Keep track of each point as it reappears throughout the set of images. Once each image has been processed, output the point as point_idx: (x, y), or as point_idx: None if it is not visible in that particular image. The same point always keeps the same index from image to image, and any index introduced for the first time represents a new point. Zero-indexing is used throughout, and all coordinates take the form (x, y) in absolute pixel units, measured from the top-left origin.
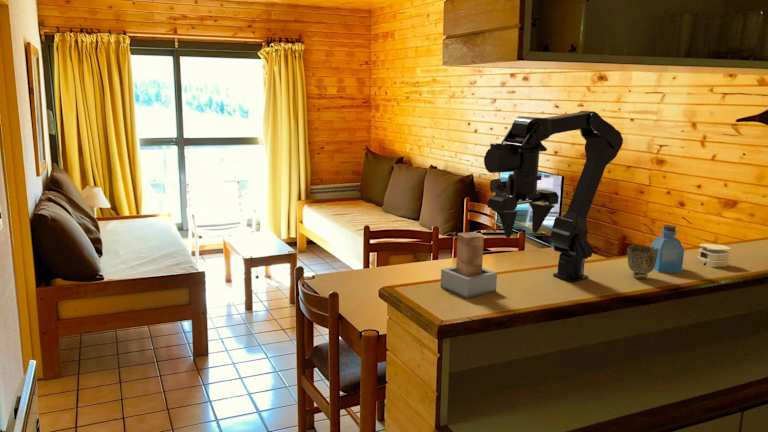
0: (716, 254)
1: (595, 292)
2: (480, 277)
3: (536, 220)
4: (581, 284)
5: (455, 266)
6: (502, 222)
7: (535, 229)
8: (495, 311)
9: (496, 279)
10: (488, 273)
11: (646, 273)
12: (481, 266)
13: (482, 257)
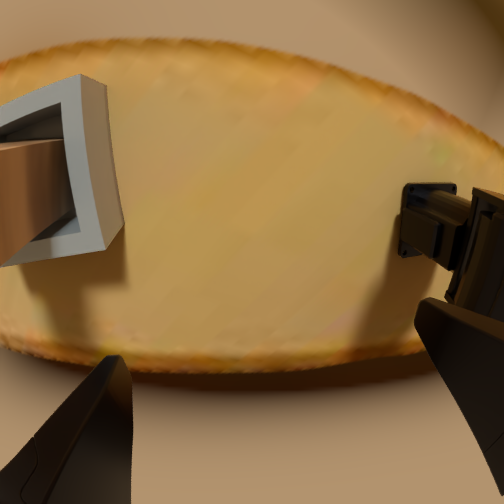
0: None
1: (372, 329)
2: (32, 260)
3: (476, 375)
4: (399, 274)
5: (7, 104)
6: (32, 456)
7: (429, 335)
8: (59, 340)
9: (111, 240)
10: (70, 240)
11: None
12: (33, 236)
13: (14, 253)
